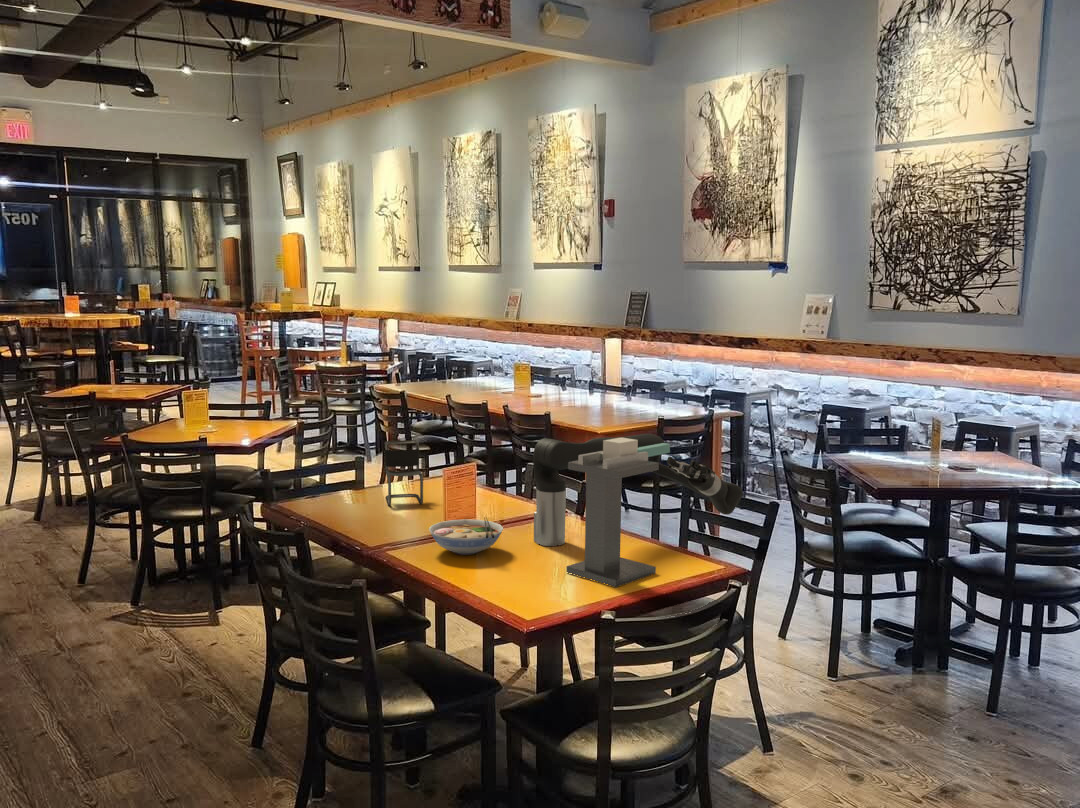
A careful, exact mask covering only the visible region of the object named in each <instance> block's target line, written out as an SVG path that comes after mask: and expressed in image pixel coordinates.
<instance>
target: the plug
mask: <svg viewBox="0 0 1080 808" xmlns="http://www.w3.org/2000/svg"><path fill="white" fill-rule="evenodd" d="M614 438H615V439H609V440H603V459H607V458H613V457H618V456H623V455H628V454H634V453H639V452H648V457H651V456H656V455H661V456H662V455H666V454H671V444H670V443H667V442H666V443H665V442H664V443H660V444H655V445H650V446H644V447H639V448H638V440H635V439H628V438H616V437H614Z"/></svg>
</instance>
